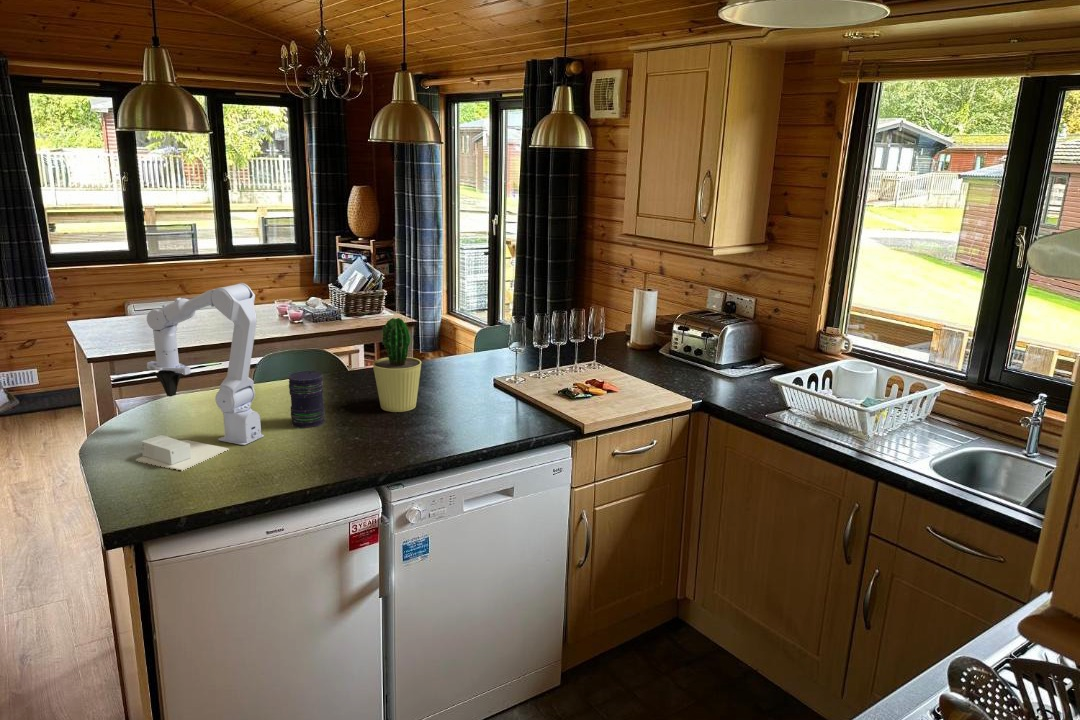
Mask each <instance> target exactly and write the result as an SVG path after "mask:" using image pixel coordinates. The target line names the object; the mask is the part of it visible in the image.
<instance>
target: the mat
mask: <svg viewBox="0 0 1080 720" xmlns="http://www.w3.org/2000/svg"><path fill="white" fill-rule="evenodd" d="M181 441H183V442H186V443H189V444H190V451H191V458H189V459H186V460H184V461H181V462H178V463H176V464H173V465H170V464H167V463H164V462H161V461H158V460H155V459H152V458H149V457H146V456H143V455H142V456H140V457H137V458H136V459H135V462H137V461H138V462H139V463H142V462H143V464H146V463H148V464H147V465H151V464H152V465H151V466H155V465H156V467H160V466H161V468H164V467H165V469H169V468H170V470H173V469H176V470H175V471H178V470H181V471H180V472H184V471H186V470H188V469H187V468H189V469H191V468H193V467H195V466H197V465H199V464H198V463H200V464H201V462H202V463H204V462H206V461H208V460H210V459H209V458H211V459H213V458H215V457H217V456H219V455H218V454H220V453H222V454H224V453H225V452H224V451H226V452H228V451H230V448H228V447H223V446H219V445H213V444H207V443H204V442H199V441H193V440H189V439H183V440H181ZM227 450H228V451H227ZM223 452H224V453H223ZM216 455H217V456H216ZM220 455H221V454H220ZM214 456H215V457H214ZM212 457H213V458H212ZM207 459H208V460H207ZM205 460H206V461H205ZM203 461H204V462H203ZM196 464H197V465H196ZM194 465H195V466H194ZM192 466H193V467H192ZM190 467H191V468H190ZM185 469H186V470H185ZM183 470H184V471H183Z"/></svg>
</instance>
